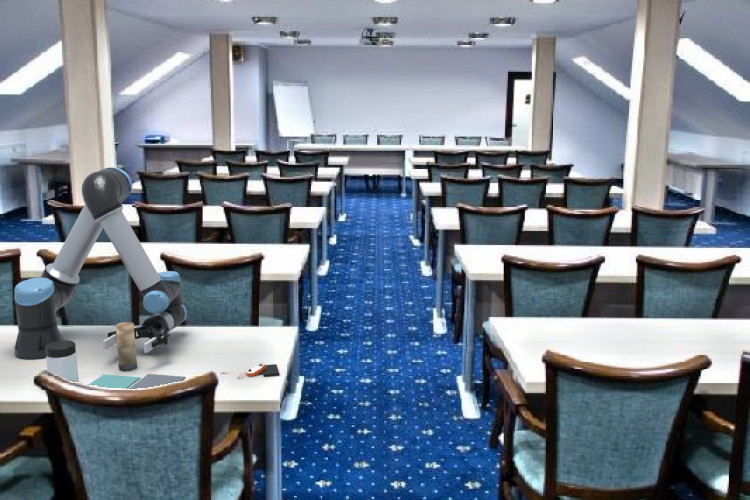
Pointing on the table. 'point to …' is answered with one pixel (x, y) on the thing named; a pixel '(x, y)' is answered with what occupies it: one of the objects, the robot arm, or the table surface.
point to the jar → (62, 359)
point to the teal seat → (114, 381)
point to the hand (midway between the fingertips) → (124, 347)
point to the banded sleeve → (126, 346)
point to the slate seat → (156, 380)
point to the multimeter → (262, 370)
